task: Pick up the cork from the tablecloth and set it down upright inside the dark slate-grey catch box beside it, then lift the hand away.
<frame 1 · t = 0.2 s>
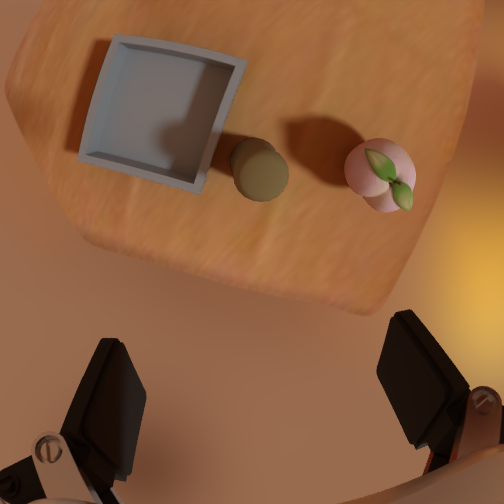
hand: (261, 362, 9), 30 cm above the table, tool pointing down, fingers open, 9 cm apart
decorative fruit: (364, 165, 36), on the table
cork: (254, 161, 35), on the table
catch box: (162, 109, 31), on the table
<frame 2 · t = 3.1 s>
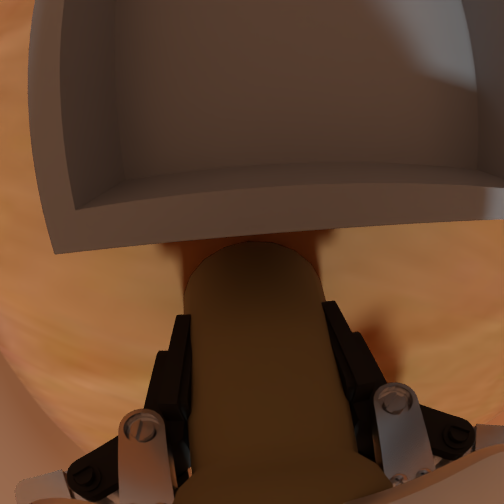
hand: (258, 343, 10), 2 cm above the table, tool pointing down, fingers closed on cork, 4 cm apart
cork: (253, 304, 13), on the table, touching gripper
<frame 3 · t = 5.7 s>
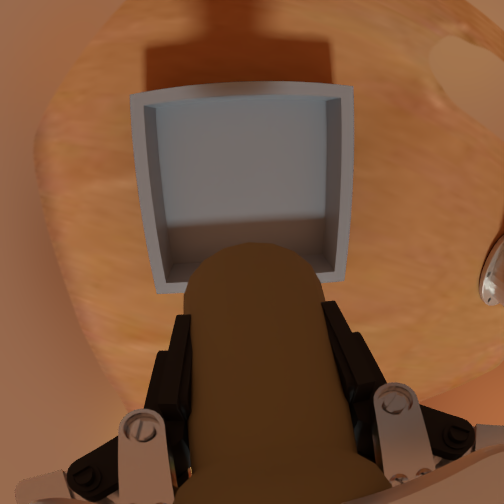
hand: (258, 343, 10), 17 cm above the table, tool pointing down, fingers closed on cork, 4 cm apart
cork: (253, 304, 13), point 15 cm above the table, touching gripper
catch box: (244, 180, 25), on the table
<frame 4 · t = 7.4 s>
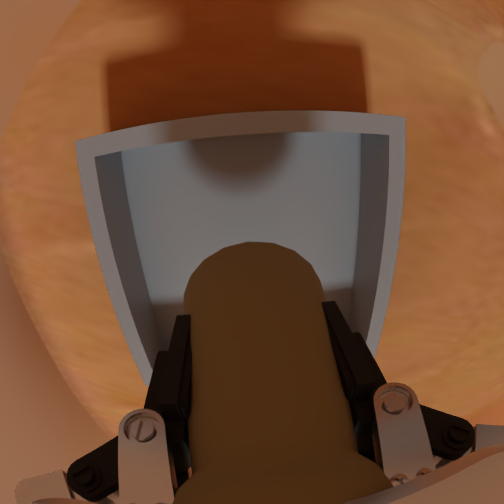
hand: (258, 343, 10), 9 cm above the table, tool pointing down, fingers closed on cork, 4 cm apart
cork: (253, 304, 12), point 7 cm above the table, touching gripper
catch box: (248, 244, 19), on the table
when the fingers open (5 cm above the table, at t = 8.5 s): cork drops 2 cm, resting on catch box.
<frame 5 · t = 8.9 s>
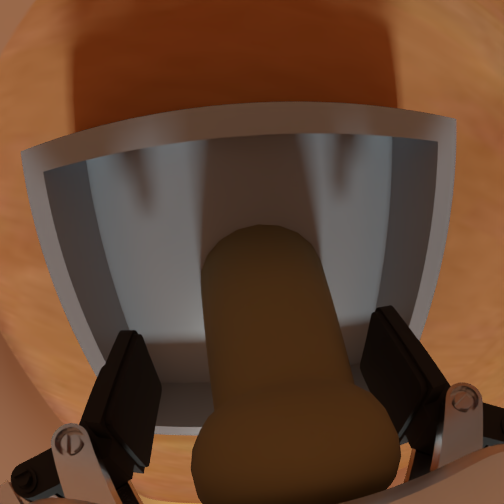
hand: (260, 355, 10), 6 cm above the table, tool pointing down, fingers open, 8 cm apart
cork: (262, 281, 14), point 1 cm above the table, touching catch box
catch box: (249, 274, 15), on the table
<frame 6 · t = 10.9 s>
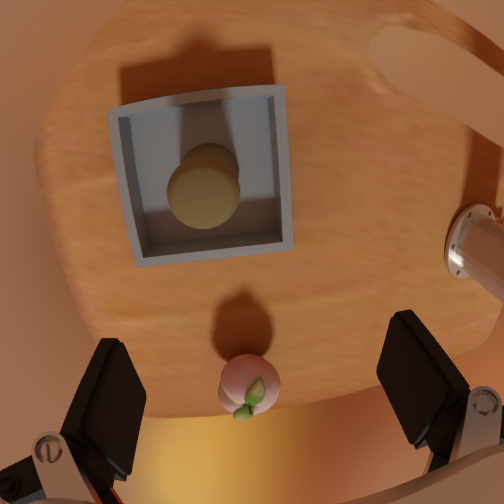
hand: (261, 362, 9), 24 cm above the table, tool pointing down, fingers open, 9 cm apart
decorative fruit: (246, 359, 41), on the table
cork: (209, 172, 29), point 1 cm above the table, touching catch box
catch box: (204, 171, 29), on the table
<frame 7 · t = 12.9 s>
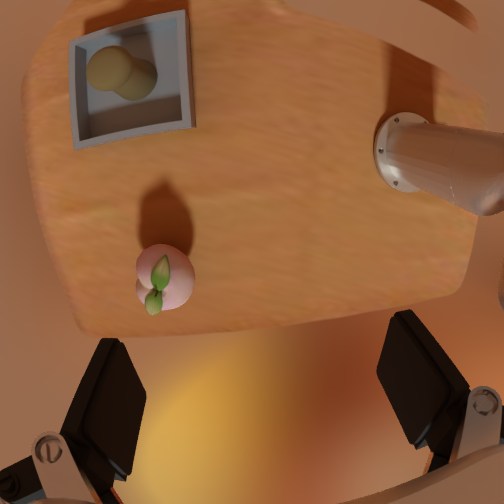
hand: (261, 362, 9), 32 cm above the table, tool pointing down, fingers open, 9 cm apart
decorative fruit: (171, 260, 43), on the table
cork: (136, 80, 31), point 1 cm above the table, touching catch box
catch box: (134, 81, 32), on the table
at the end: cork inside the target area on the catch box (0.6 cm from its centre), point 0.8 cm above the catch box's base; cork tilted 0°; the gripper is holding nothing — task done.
